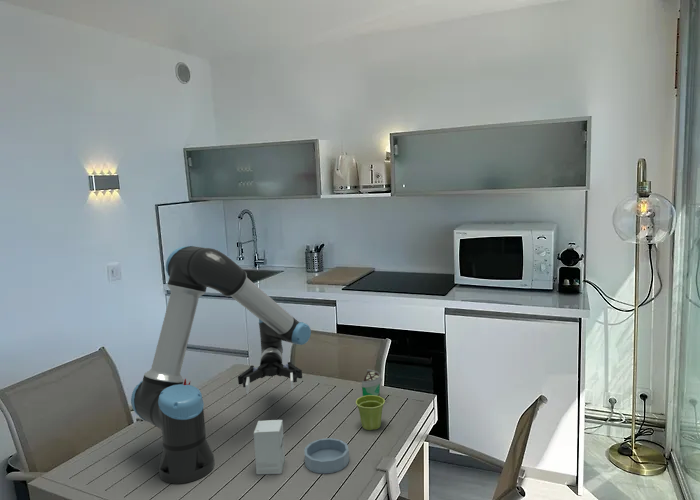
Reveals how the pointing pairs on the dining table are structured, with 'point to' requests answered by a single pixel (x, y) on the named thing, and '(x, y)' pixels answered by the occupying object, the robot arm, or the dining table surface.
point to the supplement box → (269, 447)
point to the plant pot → (370, 411)
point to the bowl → (326, 455)
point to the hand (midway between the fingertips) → (269, 387)
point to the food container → (371, 383)
